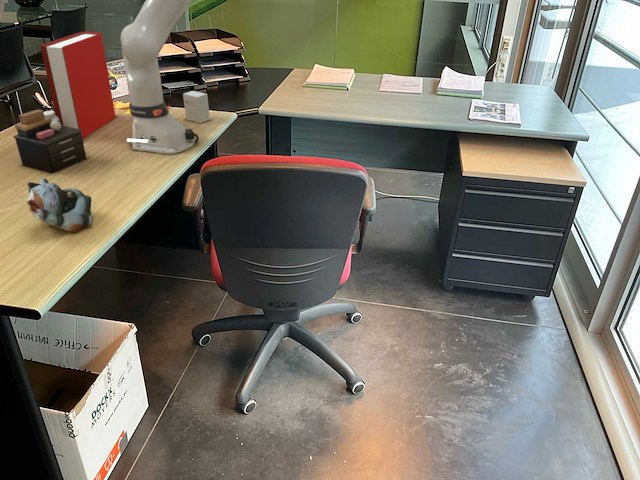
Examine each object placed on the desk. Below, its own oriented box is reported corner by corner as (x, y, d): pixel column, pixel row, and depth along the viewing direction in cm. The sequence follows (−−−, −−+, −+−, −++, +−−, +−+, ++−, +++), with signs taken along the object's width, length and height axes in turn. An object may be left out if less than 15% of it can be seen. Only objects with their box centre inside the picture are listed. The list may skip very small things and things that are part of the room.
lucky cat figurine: (92, 232, 137) (54, 197, 126) (51, 249, 138) (10, 216, 128) (97, 193, 147) (62, 157, 136) (59, 209, 148) (21, 175, 138)
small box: (210, 119, 216) (207, 93, 211) (200, 123, 212) (197, 96, 207) (195, 116, 220) (192, 90, 214) (185, 119, 216) (182, 93, 210)
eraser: (49, 133, 170) (48, 128, 169) (54, 134, 169) (53, 130, 168) (37, 137, 166) (35, 133, 165) (41, 138, 165) (40, 134, 165)
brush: (53, 127, 174) (49, 109, 171) (27, 137, 166) (22, 118, 163) (43, 125, 176) (39, 107, 173) (17, 134, 168) (12, 115, 165)
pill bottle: (68, 136, 194) (59, 110, 188) (56, 142, 190) (47, 116, 185) (58, 133, 196) (49, 108, 190) (46, 139, 192) (36, 114, 187)
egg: (64, 130, 173) (62, 120, 171) (56, 133, 170) (53, 123, 168) (57, 128, 174) (54, 118, 172) (48, 131, 171) (46, 121, 170)
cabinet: (88, 159, 178) (82, 129, 173) (53, 174, 167) (45, 143, 162) (58, 151, 183) (51, 122, 178) (21, 165, 172) (13, 135, 167)
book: (81, 139, 194) (62, 46, 177) (61, 137, 194) (40, 45, 178) (117, 116, 217) (103, 32, 200) (98, 114, 218) (82, 31, 201)
